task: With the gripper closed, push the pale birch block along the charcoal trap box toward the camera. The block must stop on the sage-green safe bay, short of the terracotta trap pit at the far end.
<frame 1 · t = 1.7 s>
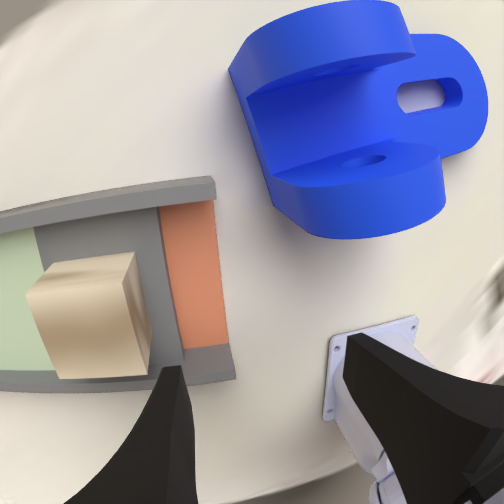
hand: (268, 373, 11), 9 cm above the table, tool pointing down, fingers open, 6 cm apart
bracket: (381, 102, 18), on the table
trap box: (25, 296, 17), on the table
block: (102, 298, 17), point 1 cm above the table, touching trap box
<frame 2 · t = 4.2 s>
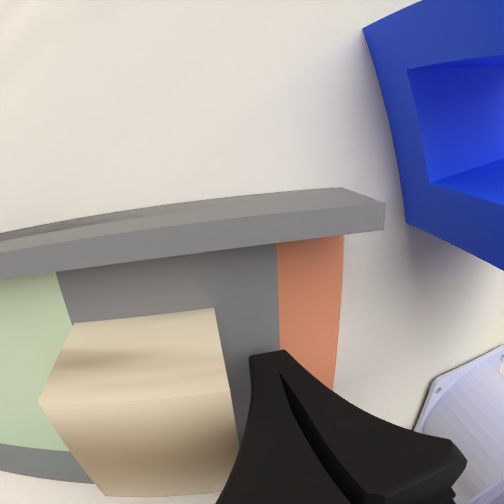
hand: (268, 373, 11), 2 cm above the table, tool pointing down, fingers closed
bracket: (502, 105, 12), on the table
trap box: (42, 358, 12), on the table
block: (156, 373, 11), point 1 cm above the table, touching gripper, trap box
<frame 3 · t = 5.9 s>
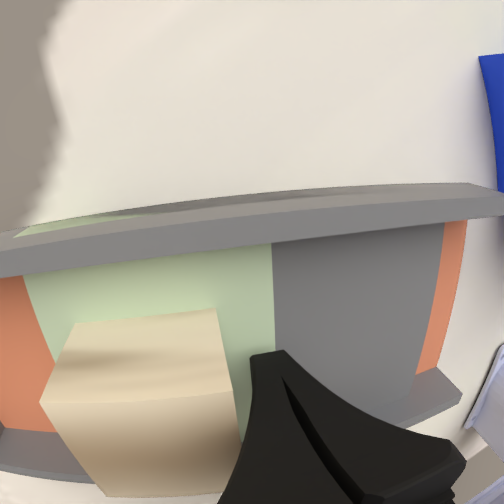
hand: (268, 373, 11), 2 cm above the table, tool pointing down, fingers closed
trap box: (194, 345, 13), on the table
block: (157, 373, 11), point 1 cm above the table, touching gripper, trap box
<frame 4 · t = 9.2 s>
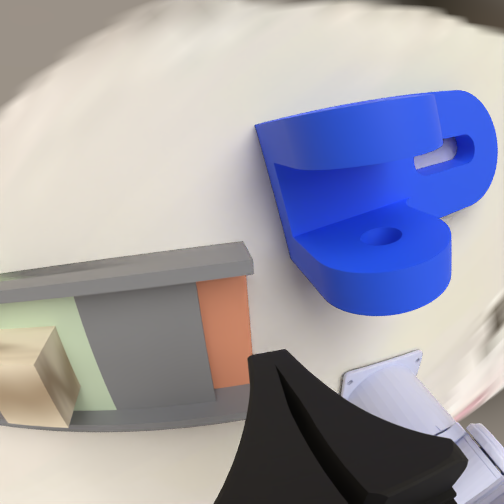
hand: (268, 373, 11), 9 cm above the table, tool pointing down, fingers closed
bracket: (397, 158, 20), on the table
trap box: (61, 345, 19), on the table
block: (37, 359, 17), point 1 cm above the table, touching trap box
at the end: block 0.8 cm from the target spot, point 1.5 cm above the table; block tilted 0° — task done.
